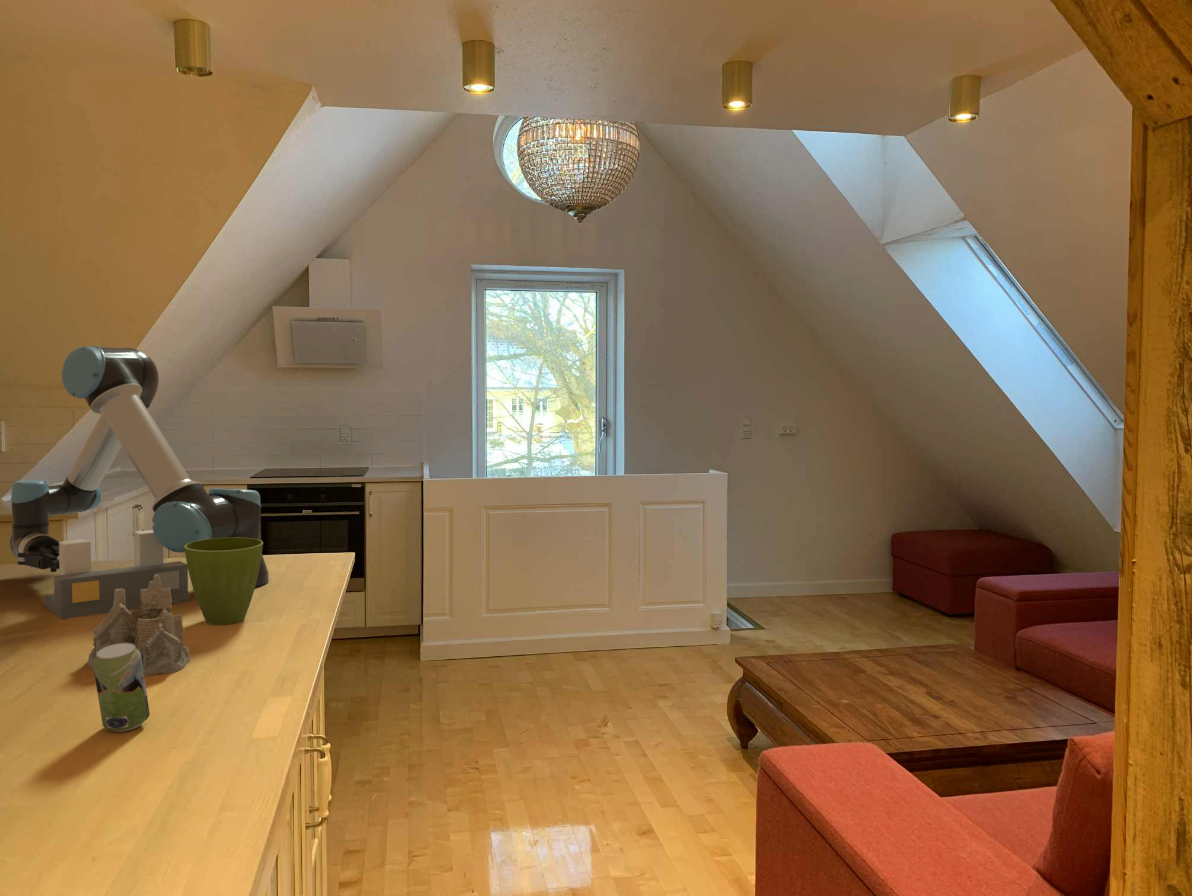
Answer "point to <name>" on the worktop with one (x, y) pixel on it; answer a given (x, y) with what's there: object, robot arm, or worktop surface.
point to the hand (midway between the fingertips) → (69, 567)
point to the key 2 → (147, 548)
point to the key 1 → (74, 557)
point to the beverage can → (121, 687)
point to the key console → (113, 588)
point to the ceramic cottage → (145, 630)
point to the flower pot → (224, 576)
